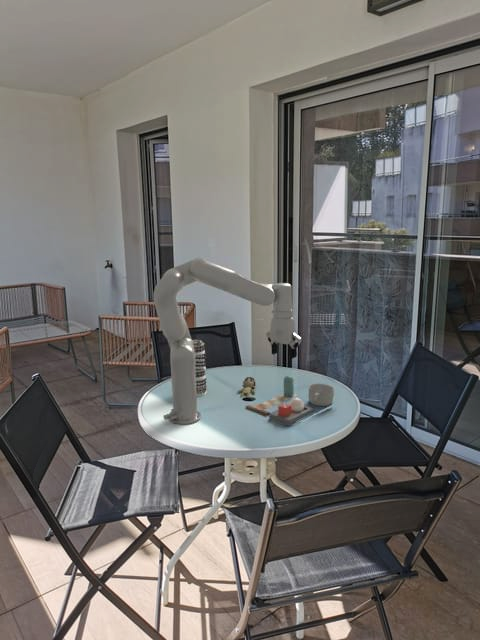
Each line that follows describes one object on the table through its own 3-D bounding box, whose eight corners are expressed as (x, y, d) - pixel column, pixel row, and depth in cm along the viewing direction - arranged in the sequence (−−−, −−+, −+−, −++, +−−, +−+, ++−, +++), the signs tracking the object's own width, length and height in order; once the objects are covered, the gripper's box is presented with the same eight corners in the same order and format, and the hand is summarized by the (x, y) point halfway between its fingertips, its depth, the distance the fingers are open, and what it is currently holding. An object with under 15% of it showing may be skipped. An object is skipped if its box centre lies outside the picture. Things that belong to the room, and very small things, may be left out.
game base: (289, 426, 184) (289, 411, 183) (269, 419, 191) (269, 404, 190) (313, 414, 196) (313, 399, 194) (294, 407, 202) (294, 393, 201)
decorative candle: (203, 397, 216) (201, 344, 210) (184, 395, 219) (182, 342, 213) (210, 390, 224) (208, 339, 219) (192, 388, 227) (190, 337, 222)
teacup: (315, 398, 213) (315, 381, 211) (338, 403, 206) (338, 385, 205) (300, 408, 201) (300, 390, 200) (323, 414, 195) (324, 395, 194)
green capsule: (289, 397, 210) (289, 378, 209) (281, 395, 214) (281, 375, 212) (295, 395, 214) (295, 375, 212) (287, 392, 217) (287, 373, 215)
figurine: (235, 391, 212) (241, 374, 225) (236, 403, 214) (242, 386, 228) (252, 392, 210) (258, 375, 224) (253, 404, 213) (258, 387, 226)
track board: (267, 415, 195) (267, 413, 194) (245, 408, 203) (245, 405, 203) (304, 398, 212) (304, 396, 212) (283, 392, 220) (283, 390, 220)
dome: (297, 414, 191) (297, 402, 190) (286, 410, 195) (286, 398, 194) (306, 410, 195) (306, 397, 194) (295, 406, 199) (295, 394, 198)
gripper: (260, 313, 193) (261, 354, 197) (294, 318, 181) (295, 361, 185) (271, 310, 198) (273, 350, 202) (306, 314, 187) (307, 356, 190)
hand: (284, 355), depth 193 cm, fingers open, 9 cm apart
